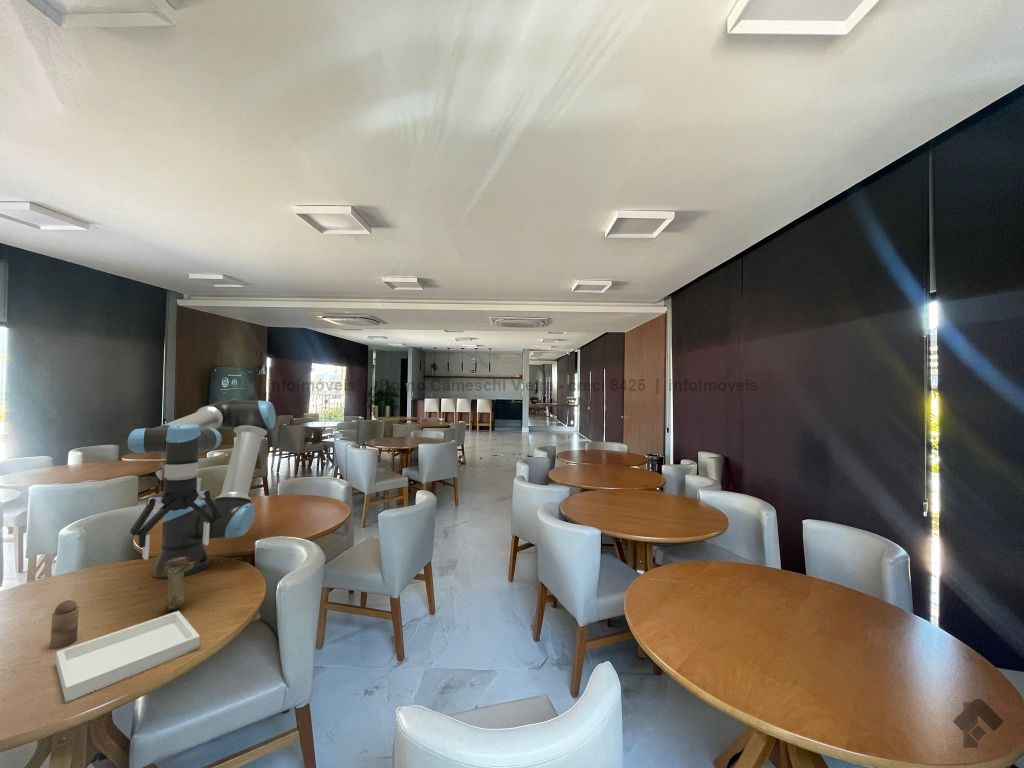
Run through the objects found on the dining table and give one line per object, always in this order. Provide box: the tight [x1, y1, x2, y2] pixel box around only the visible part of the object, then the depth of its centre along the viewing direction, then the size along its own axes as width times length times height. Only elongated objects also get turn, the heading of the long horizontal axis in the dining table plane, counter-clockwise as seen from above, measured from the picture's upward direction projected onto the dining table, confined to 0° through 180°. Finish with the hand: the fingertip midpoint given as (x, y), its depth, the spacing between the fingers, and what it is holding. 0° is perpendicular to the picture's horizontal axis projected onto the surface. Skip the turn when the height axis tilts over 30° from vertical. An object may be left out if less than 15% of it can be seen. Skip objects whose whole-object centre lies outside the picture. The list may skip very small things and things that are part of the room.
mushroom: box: [155, 556, 195, 612], centre depth 113 cm, size 9×9×15 cm
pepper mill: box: [49, 599, 80, 650], centre depth 97 cm, size 4×4×10 cm
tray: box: [55, 610, 201, 704], centre depth 93 cm, size 22×18×3 cm
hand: (176, 550), depth 113 cm, fingers open, 13 cm apart
